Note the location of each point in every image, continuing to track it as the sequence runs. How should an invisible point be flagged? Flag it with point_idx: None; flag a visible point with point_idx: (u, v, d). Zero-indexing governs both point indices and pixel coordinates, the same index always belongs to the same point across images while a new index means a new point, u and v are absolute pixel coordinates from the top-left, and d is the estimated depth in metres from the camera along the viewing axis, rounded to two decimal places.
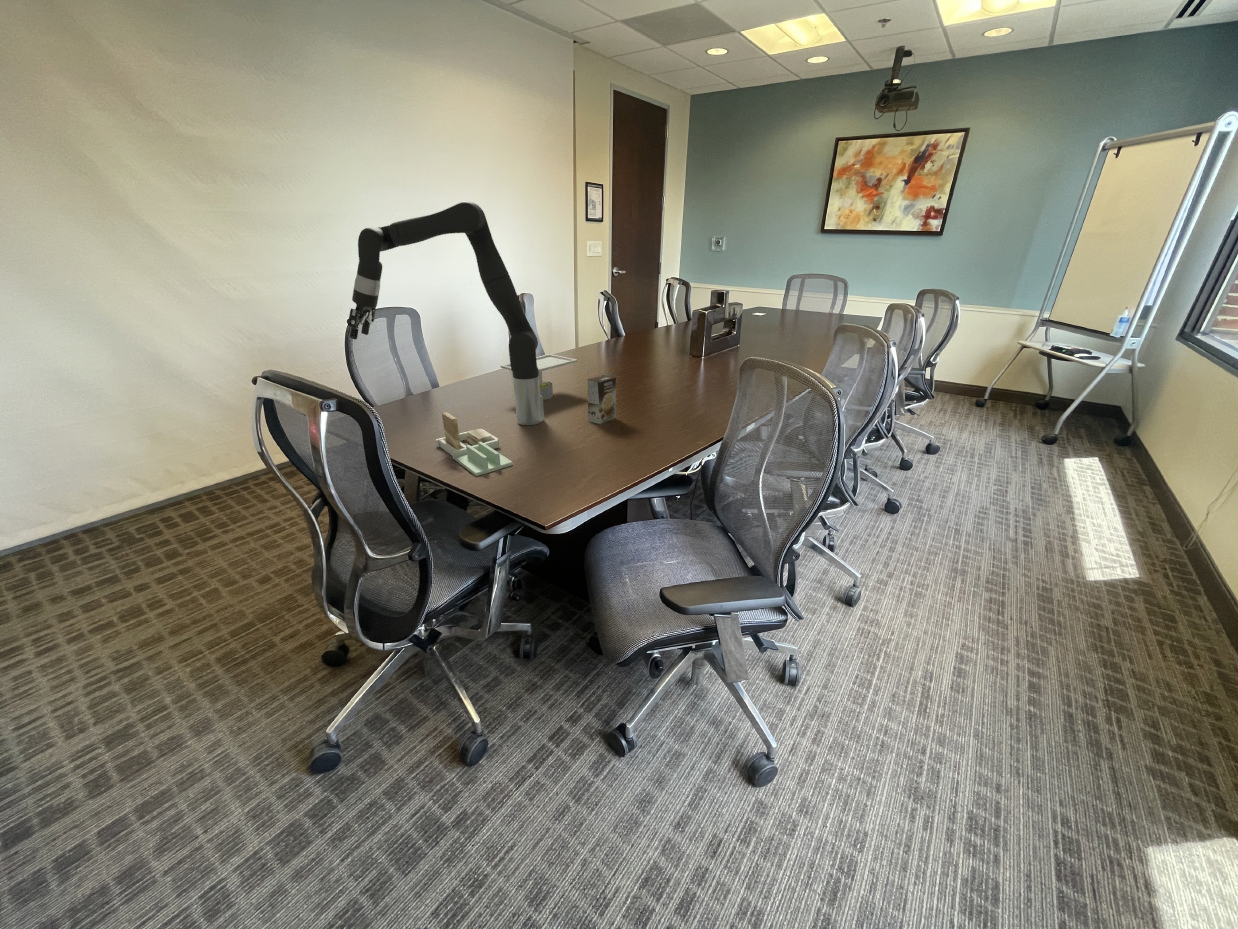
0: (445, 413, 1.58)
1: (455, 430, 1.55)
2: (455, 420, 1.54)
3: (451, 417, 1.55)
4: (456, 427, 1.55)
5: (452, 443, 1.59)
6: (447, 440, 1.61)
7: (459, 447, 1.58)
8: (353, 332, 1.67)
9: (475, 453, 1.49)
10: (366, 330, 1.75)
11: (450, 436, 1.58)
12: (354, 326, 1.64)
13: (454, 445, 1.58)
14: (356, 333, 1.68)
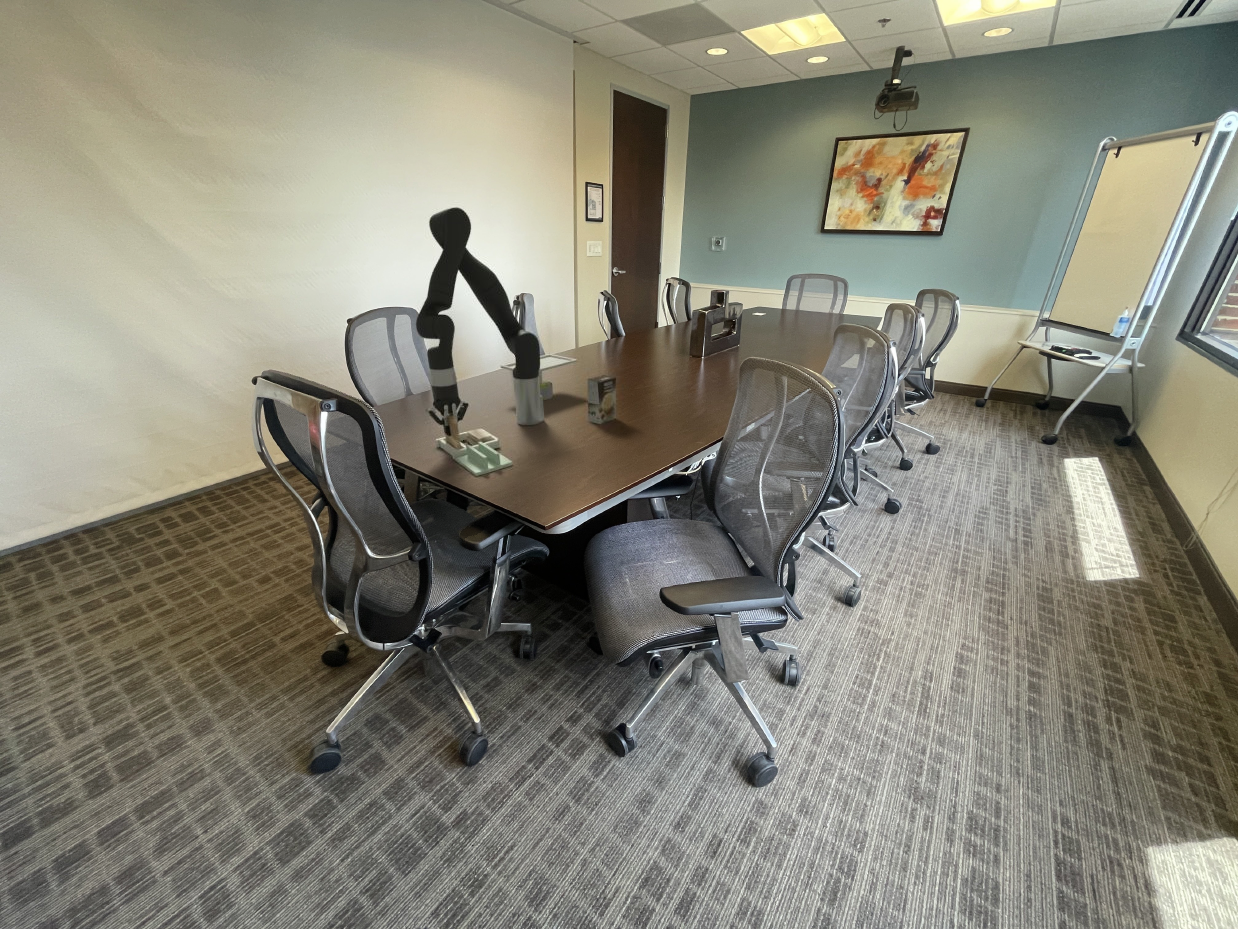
0: None
1: (455, 430, 1.55)
2: (455, 420, 1.54)
3: (451, 417, 1.55)
4: (456, 427, 1.55)
5: (452, 443, 1.59)
6: (447, 440, 1.62)
7: (459, 447, 1.58)
8: None
9: (475, 453, 1.49)
10: None
11: (450, 436, 1.58)
12: None
13: (454, 445, 1.58)
14: None
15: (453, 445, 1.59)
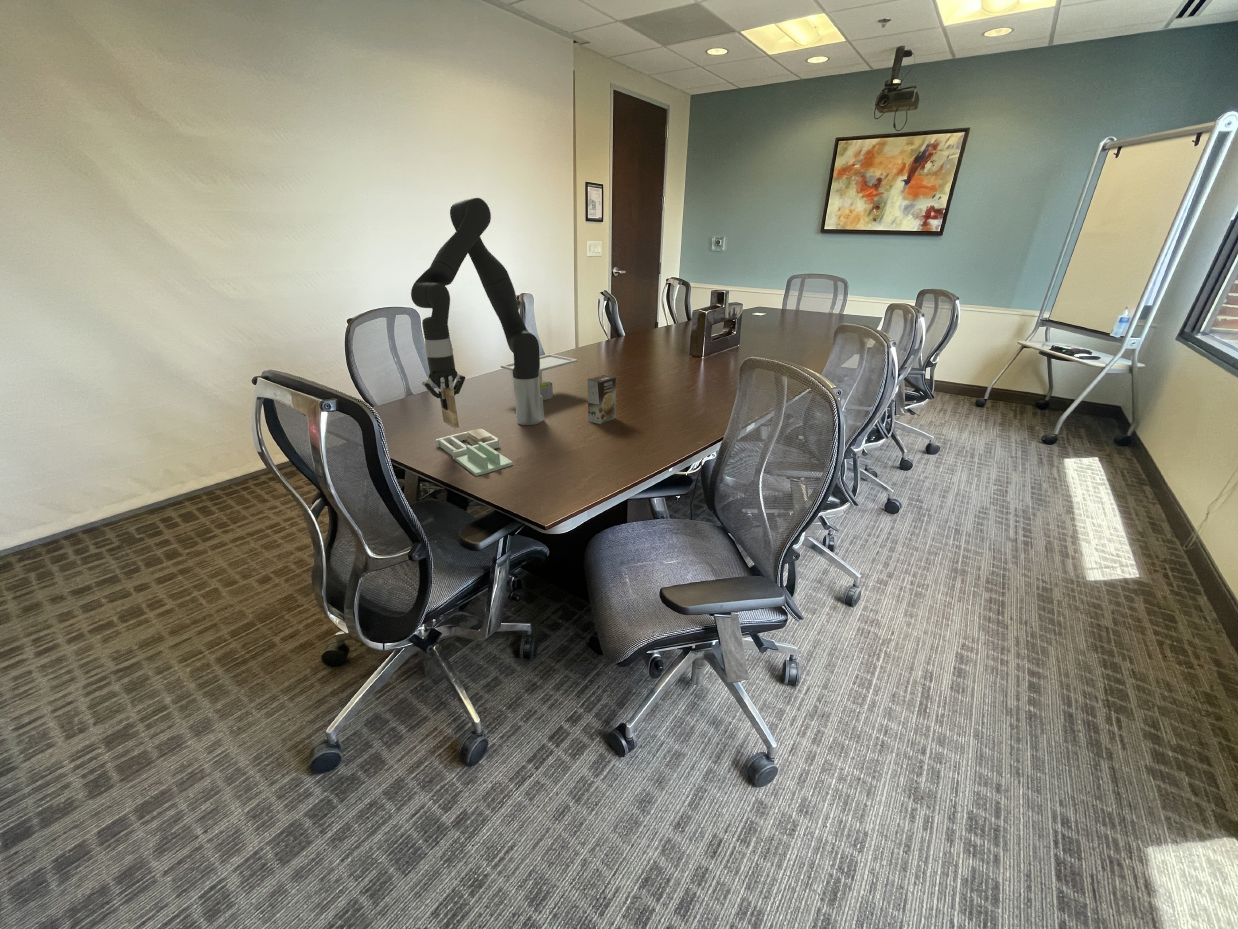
0: None
1: (452, 402, 1.51)
2: (452, 392, 1.50)
3: (448, 389, 1.51)
4: (453, 399, 1.51)
5: (449, 416, 1.55)
6: (444, 414, 1.58)
7: (456, 420, 1.54)
8: None
9: (475, 453, 1.49)
10: None
11: None
12: None
13: (451, 418, 1.54)
14: None
15: (450, 418, 1.55)
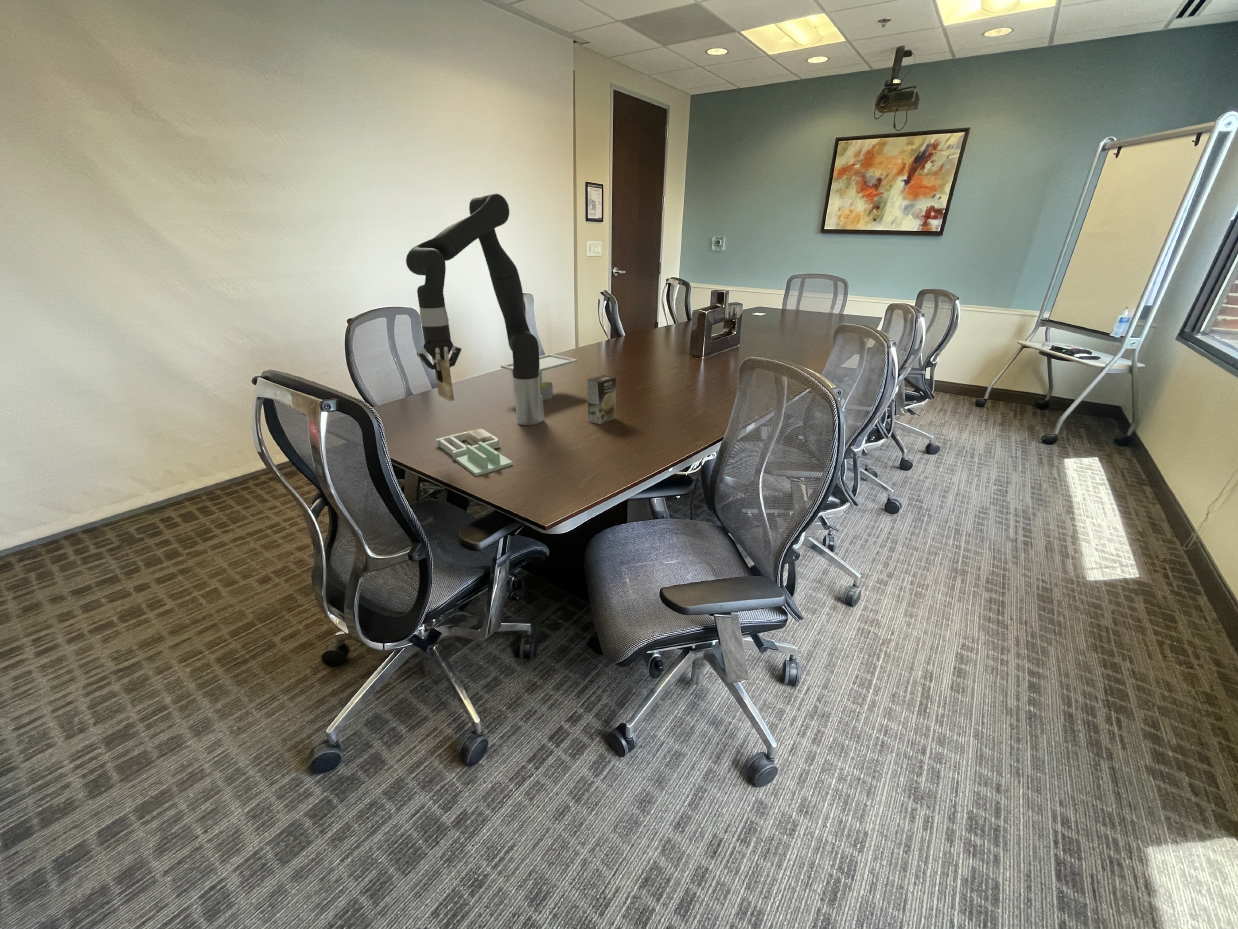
0: None
1: (447, 374, 1.48)
2: (447, 363, 1.46)
3: (443, 360, 1.47)
4: (448, 371, 1.47)
5: (444, 389, 1.51)
6: (439, 387, 1.54)
7: (451, 393, 1.50)
8: None
9: (475, 453, 1.49)
10: None
11: None
12: None
13: (446, 391, 1.50)
14: None
15: (445, 391, 1.51)
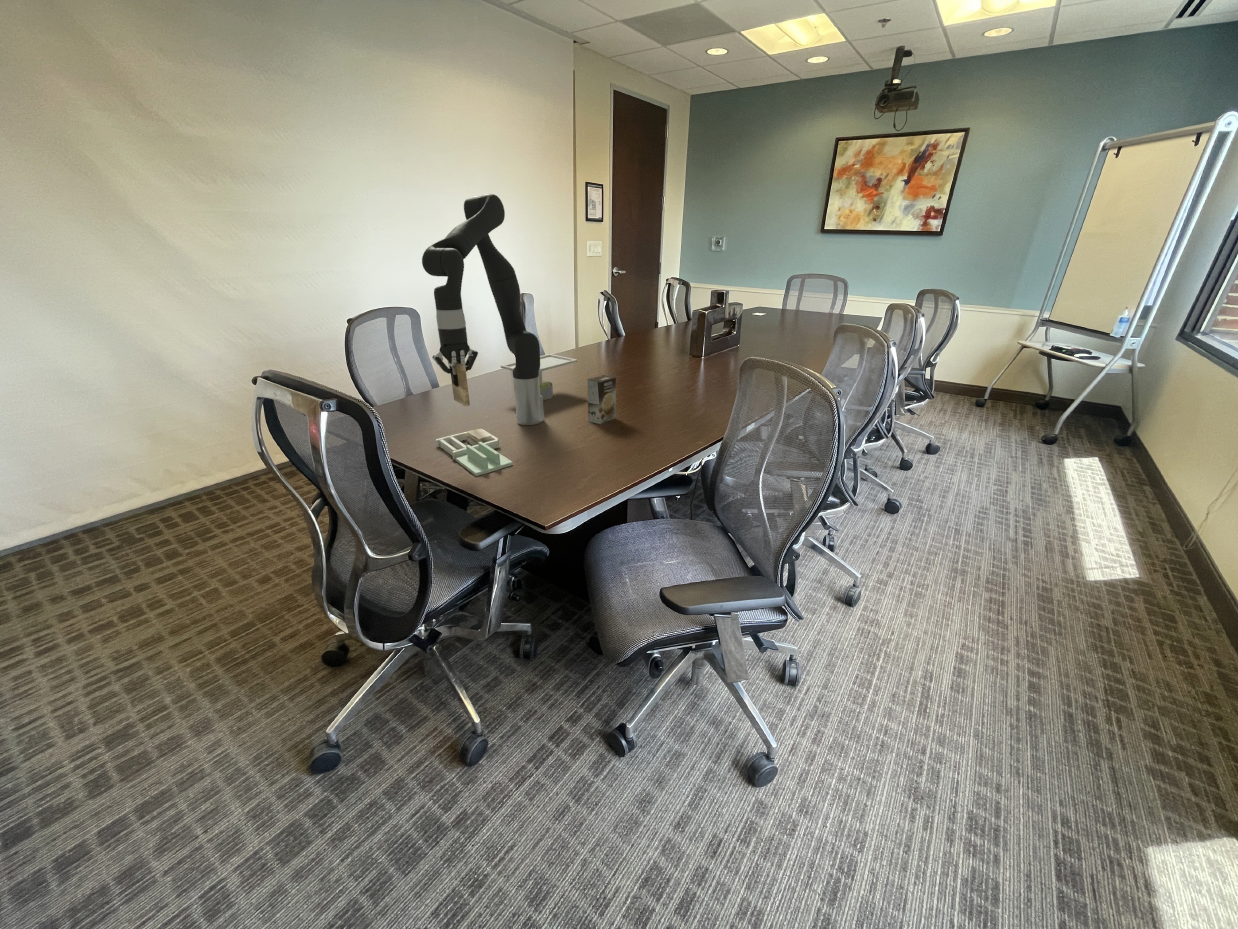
0: None
1: (463, 378, 1.43)
2: (463, 367, 1.42)
3: (459, 364, 1.42)
4: (464, 375, 1.42)
5: (460, 393, 1.46)
6: (454, 391, 1.49)
7: (467, 398, 1.45)
8: None
9: (475, 453, 1.49)
10: None
11: None
12: None
13: (462, 395, 1.45)
14: None
15: (461, 396, 1.46)
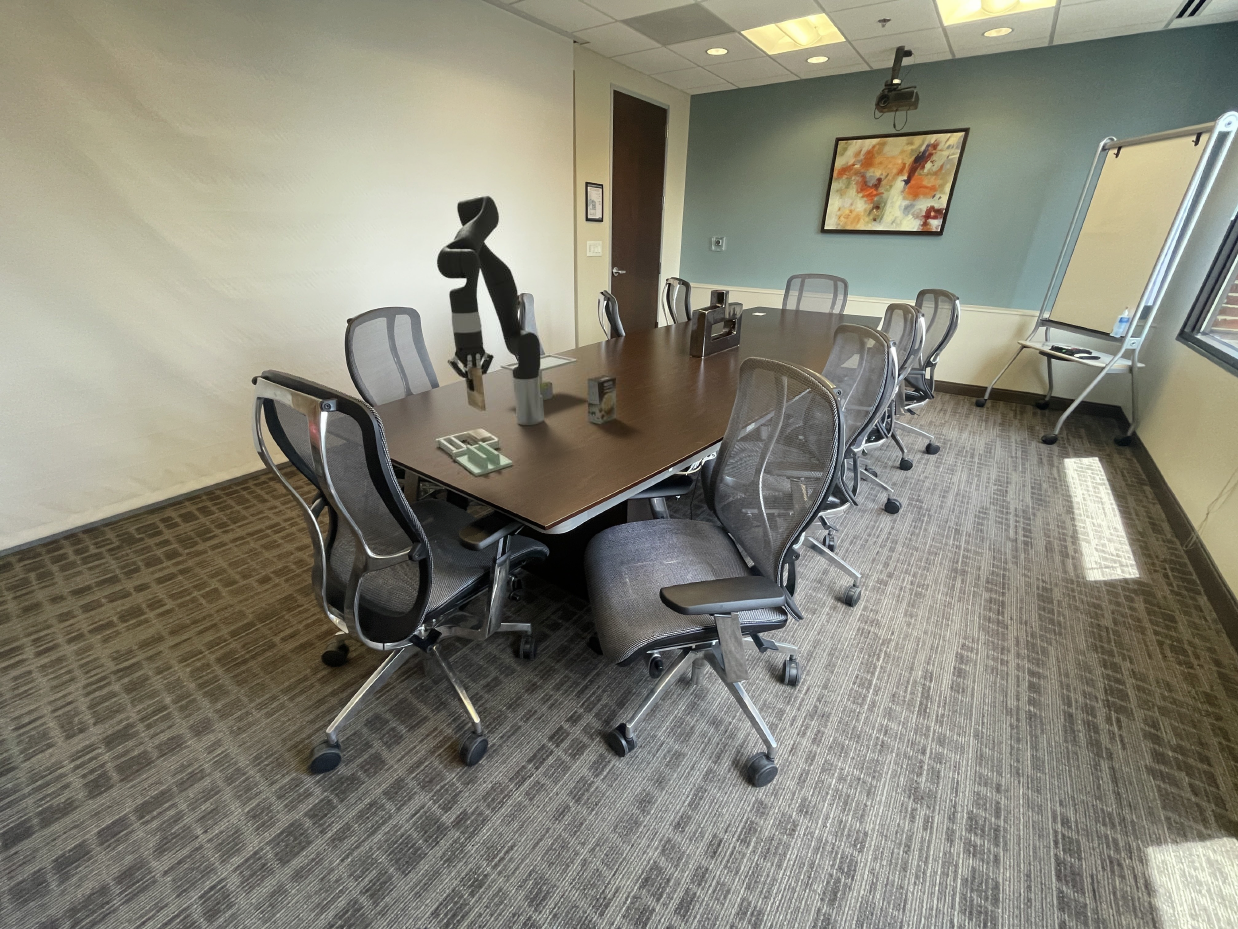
0: None
1: (479, 382, 1.39)
2: (480, 371, 1.38)
3: (475, 368, 1.39)
4: (480, 379, 1.39)
5: (475, 398, 1.43)
6: (469, 396, 1.45)
7: (483, 403, 1.42)
8: None
9: (475, 453, 1.49)
10: None
11: None
12: None
13: (478, 400, 1.42)
14: None
15: (476, 401, 1.42)
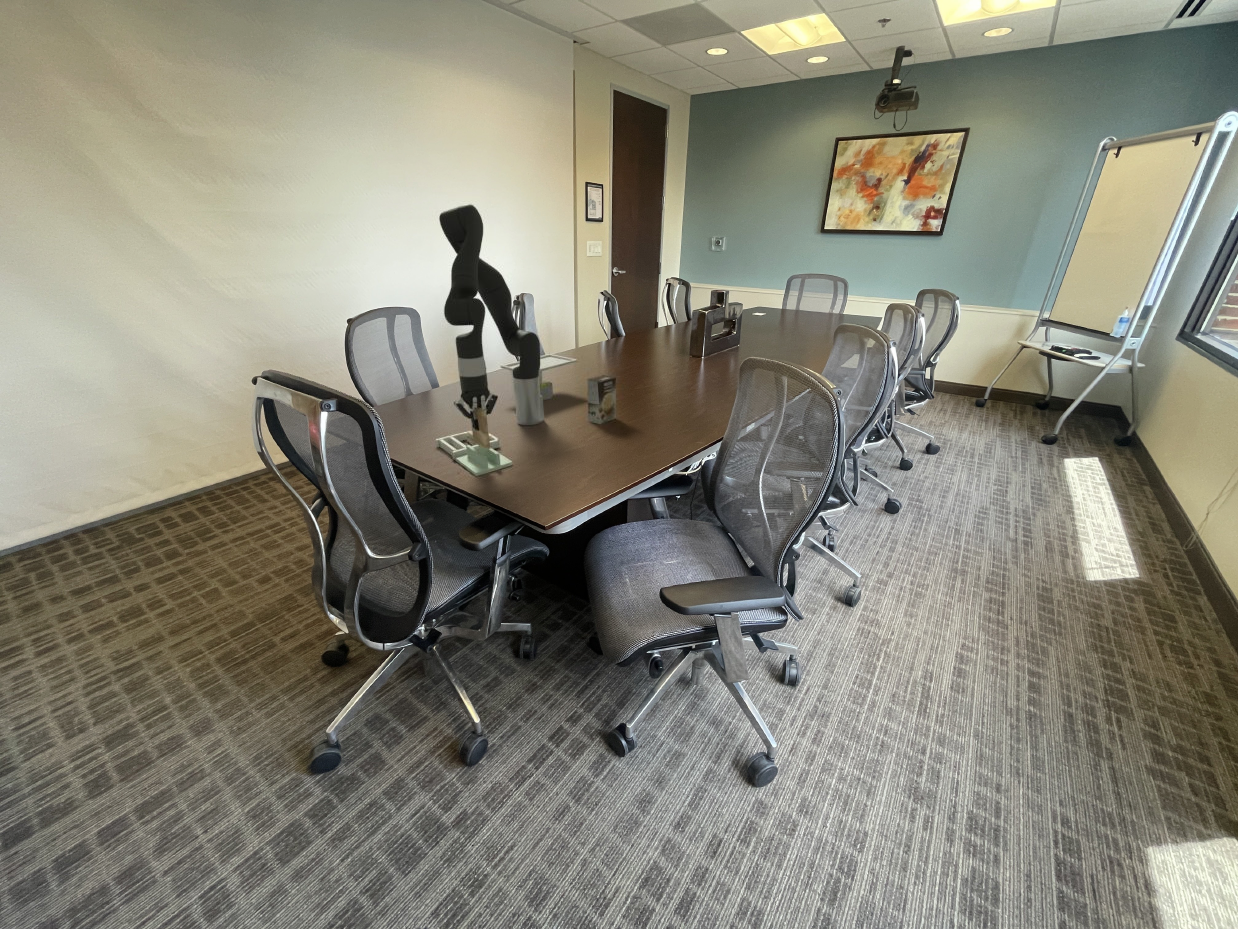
0: None
1: (484, 423, 1.44)
2: (484, 412, 1.43)
3: (480, 409, 1.44)
4: (485, 420, 1.44)
5: (480, 437, 1.48)
6: (474, 434, 1.50)
7: (488, 441, 1.47)
8: None
9: (475, 453, 1.49)
10: None
11: None
12: None
13: (482, 439, 1.47)
14: None
15: (481, 439, 1.48)
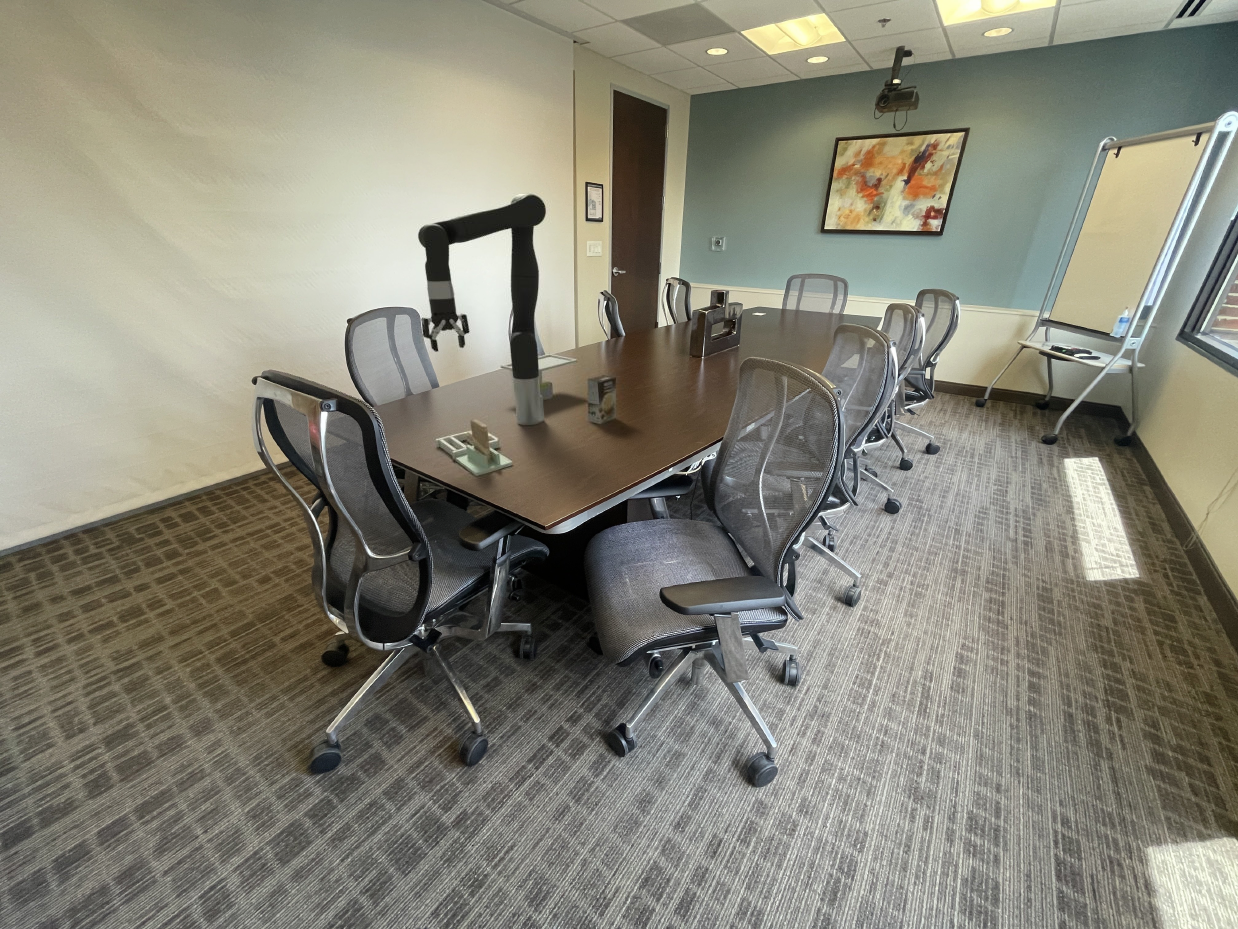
0: (474, 420, 1.49)
1: (485, 438, 1.46)
2: (485, 428, 1.45)
3: (481, 424, 1.46)
4: (486, 435, 1.46)
5: (481, 452, 1.50)
6: (475, 448, 1.53)
7: (489, 456, 1.49)
8: None
9: (475, 453, 1.49)
10: None
11: (480, 444, 1.49)
12: None
13: (484, 454, 1.49)
14: None
15: None
